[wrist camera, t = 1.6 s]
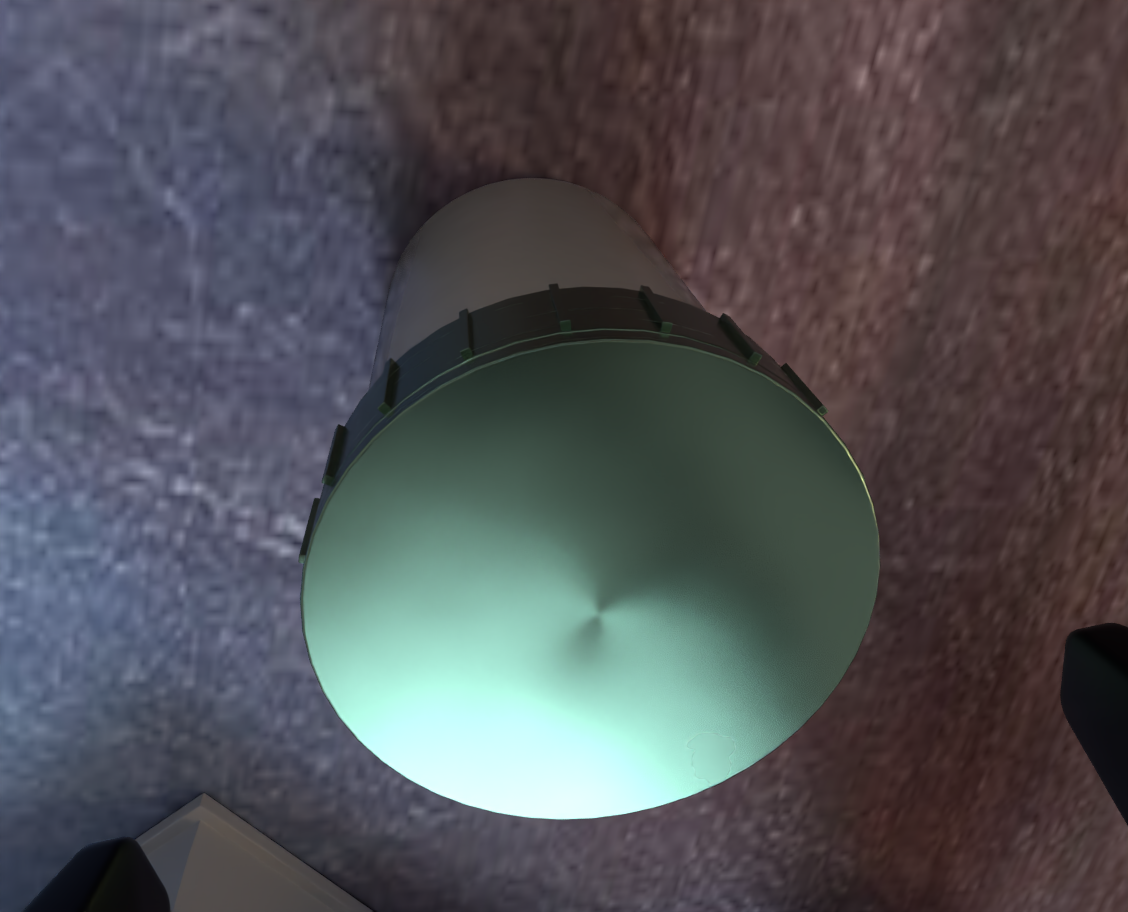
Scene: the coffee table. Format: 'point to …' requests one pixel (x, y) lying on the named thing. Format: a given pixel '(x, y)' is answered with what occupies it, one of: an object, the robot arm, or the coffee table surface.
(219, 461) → the coffee table surface
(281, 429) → the coffee table surface
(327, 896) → the book
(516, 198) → the jar
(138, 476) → the coffee table surface
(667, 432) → the jar lid
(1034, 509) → the coffee table surface
